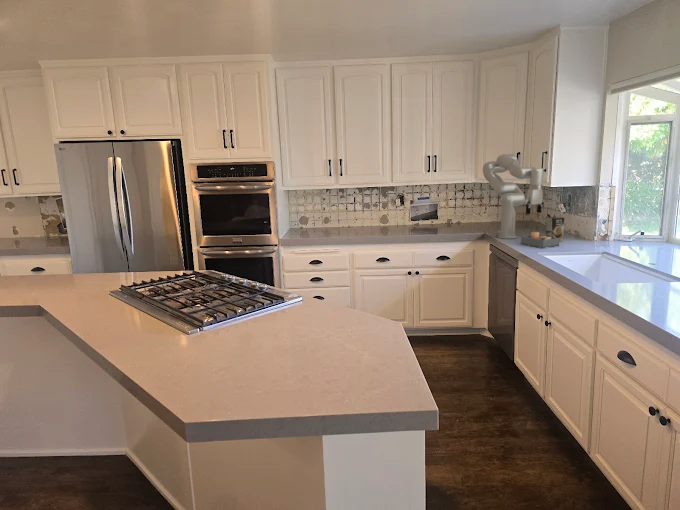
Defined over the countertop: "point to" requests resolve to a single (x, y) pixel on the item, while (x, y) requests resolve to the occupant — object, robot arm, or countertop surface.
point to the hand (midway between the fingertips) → (533, 213)
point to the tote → (539, 241)
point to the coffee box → (555, 227)
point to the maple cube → (544, 238)
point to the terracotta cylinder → (535, 235)
